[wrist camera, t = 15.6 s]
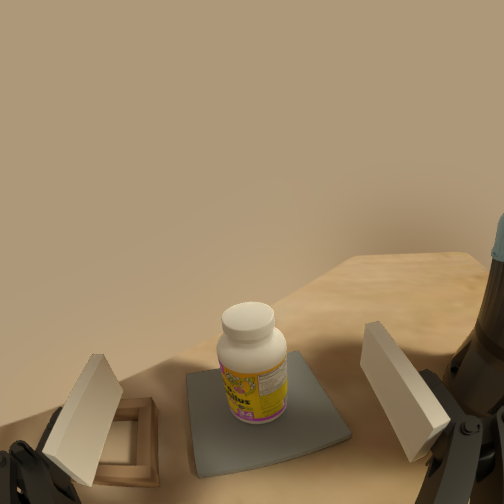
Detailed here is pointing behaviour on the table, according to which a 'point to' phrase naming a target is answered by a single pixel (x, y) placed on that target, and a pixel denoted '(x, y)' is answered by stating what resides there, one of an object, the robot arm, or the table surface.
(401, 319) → the table surface
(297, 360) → the slate mat
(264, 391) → the supplement bottle
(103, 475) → the locating collar
